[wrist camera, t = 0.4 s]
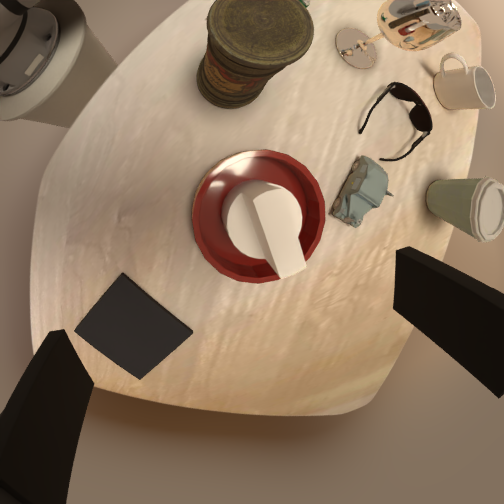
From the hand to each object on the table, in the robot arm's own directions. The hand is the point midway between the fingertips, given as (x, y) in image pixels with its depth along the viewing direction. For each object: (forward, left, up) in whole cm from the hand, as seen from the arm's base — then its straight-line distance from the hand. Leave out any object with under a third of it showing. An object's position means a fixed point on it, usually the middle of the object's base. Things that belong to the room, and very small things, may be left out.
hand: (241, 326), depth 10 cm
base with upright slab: (+6, +4, -29) cm, 30 cm away
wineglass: (-3, +34, -30) cm, 45 cm away
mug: (+11, +48, -30) cm, 58 cm away
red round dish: (+6, +4, -30) cm, 31 cm away
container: (-10, +14, -30) cm, 35 cm away
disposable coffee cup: (+27, +32, -30) cm, 51 cm away
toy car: (+15, +18, -30) cm, 38 cm away
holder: (+6, -22, -30) cm, 37 cm away
